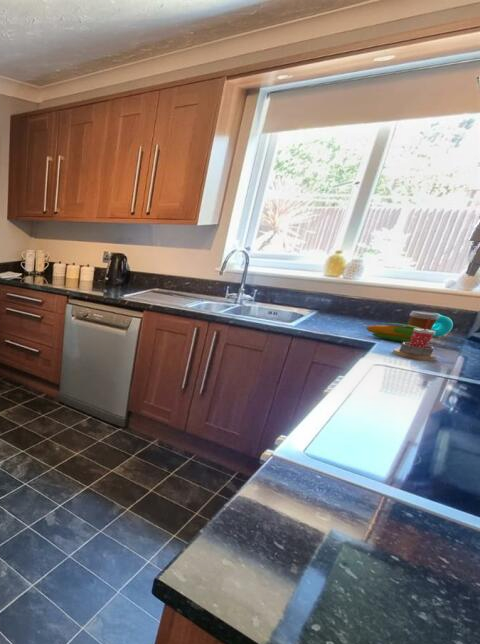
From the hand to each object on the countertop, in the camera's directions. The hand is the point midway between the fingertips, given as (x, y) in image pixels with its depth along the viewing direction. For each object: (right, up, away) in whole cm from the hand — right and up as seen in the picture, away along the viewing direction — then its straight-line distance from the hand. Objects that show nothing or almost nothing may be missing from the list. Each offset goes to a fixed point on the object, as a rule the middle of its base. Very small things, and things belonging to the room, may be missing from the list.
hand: (469, 274), depth 162 cm
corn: (-2, -22, +28) cm, 36 cm away
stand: (-16, -31, +5) cm, 35 cm away
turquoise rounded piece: (+27, -19, +40) cm, 52 cm away
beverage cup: (-16, -30, +4) cm, 34 cm away
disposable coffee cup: (+12, -21, +32) cm, 40 cm away
